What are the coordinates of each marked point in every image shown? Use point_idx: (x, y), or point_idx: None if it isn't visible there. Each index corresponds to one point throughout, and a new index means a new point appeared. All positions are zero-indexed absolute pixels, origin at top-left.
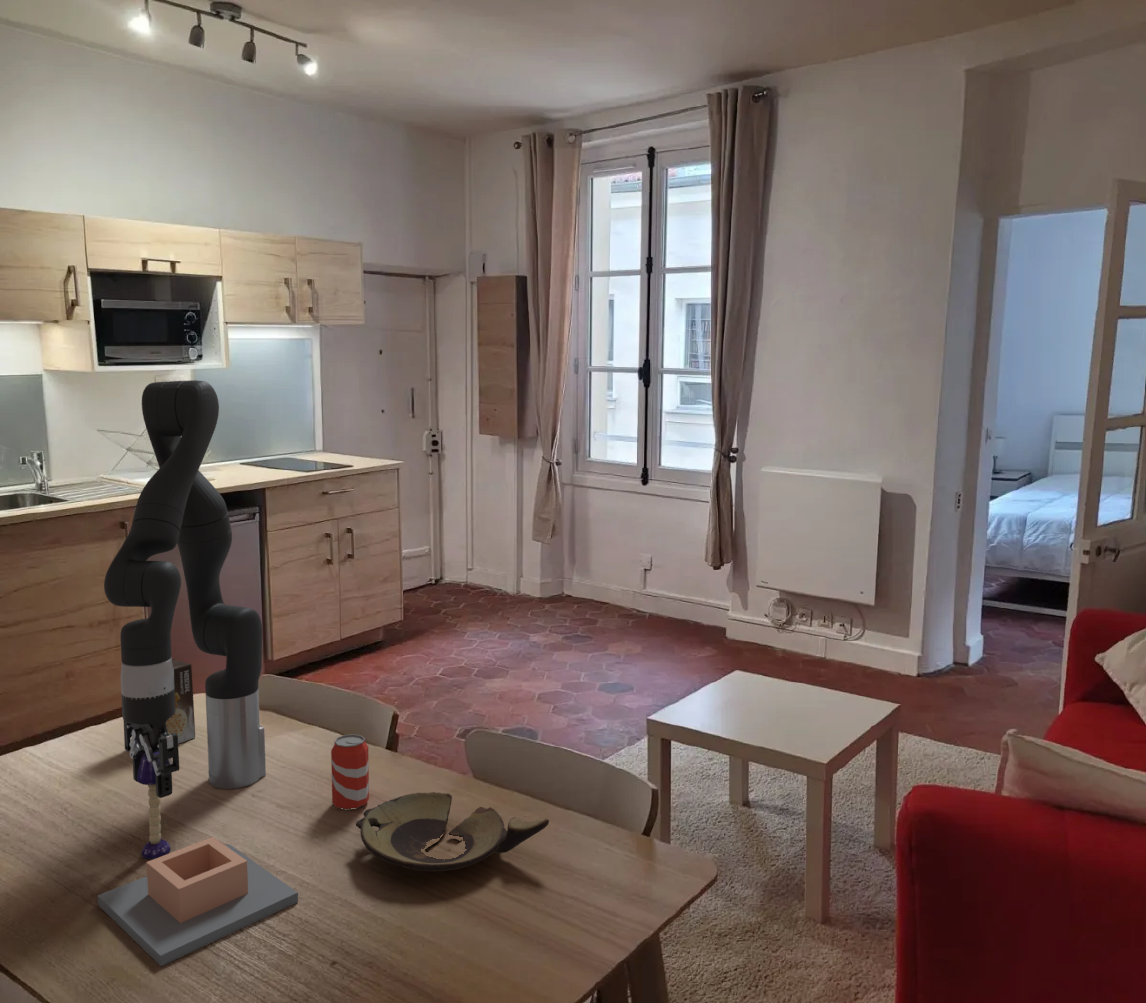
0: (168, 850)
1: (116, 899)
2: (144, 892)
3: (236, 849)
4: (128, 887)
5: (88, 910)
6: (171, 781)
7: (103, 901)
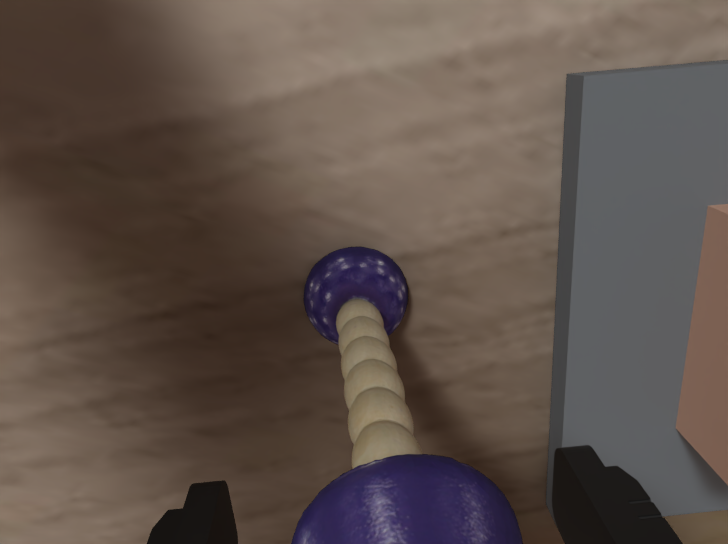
0: (394, 266)
1: None
2: (654, 432)
3: (655, 70)
4: None
5: (550, 524)
6: (628, 507)
7: None
